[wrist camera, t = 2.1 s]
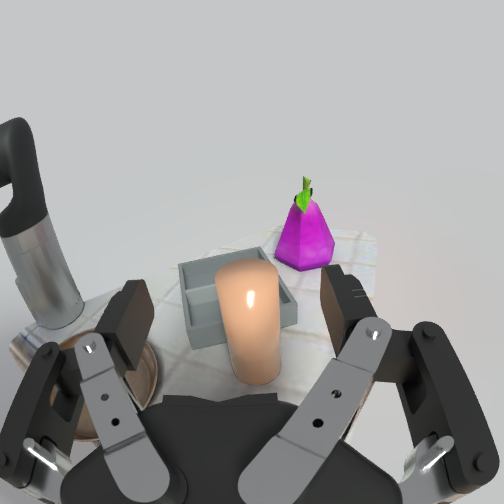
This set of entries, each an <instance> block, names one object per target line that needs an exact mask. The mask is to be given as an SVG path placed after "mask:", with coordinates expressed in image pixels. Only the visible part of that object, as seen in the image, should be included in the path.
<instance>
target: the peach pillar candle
mask: <svg viewBox="0 0 504 504" xmlns="http://www.w3.org/2000/svg"><path fill="white" fill-rule="evenodd" d="M215 283H216V289H217V294H218V299H219V304H220V309H221V314H222V319H223V324H224V329H225V333H226V338H227V343H228V347H229V352H230V357H231V361H232V366H233V370H234V373H235V375H236V377H237V378H238V379H239V380H240V381H242V382H244V383H246V384H249V385H263V384H266V383H269V382H271V381H272V380H274V379H275V378H276V377H277V376H278V374H279V373H280V370H281V335H280V306H279V281H278V270H277V268H276V267H275V266H274V265H273V264H272V263H270V262H268V261H266V260H262V259H256V258H245V259H239V260H235V261H232V262H230V263H227V264H226V265H224V266H222V267H221V268H220V269H219V270H218V271H217V273H216V275H215Z"/></svg>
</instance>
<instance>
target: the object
mask: <svg viewBox="0 0 504 504" xmlns="http://www.w3.org/2000/svg"><path fill="white" fill-rule="evenodd" d="M94 330H95V328H94V329H90V330H86V331H83V332H81V333H78V334H76V335H74V336H72V337H70V338H68V339H67V340H65V341H64V342H63V343H61V344H60V345H59V346H60V348H61V350H64V349H69V348H74V347H75V345H76V343H77V341H78V340H79V339H80V338H81V337H83V336H84V335H86V334H89V333H93V332H94ZM125 376H126V378H127V380H128V382H129V384H130V386H131V388H132V390H133V391H134V393H135V395H136V397H137V399H138V401H139V403H140V405H141V406H142V408H143V410H144V409H146V407H147V406H148V404H149V402H150V400H151V398H152V396H153V393H154V390H155V387H156V383H157V376H158V367H157V360H156V357H155V354H154V352H153V350H152V348H151V346H150V345H149V344H148V343H147V342H145V345H144V348H143V351H142V354H141V357H140V360H139V364H138V367H137V370H136V371H126V374H125ZM57 391H58V389H57V387H56V386H55V385H54V387H53V390H52V392H51V395H50V405H51V407H52V405H53V402H54V399H55V397H56V394H57ZM98 440H100V439H99V437H98V434H97V432H96V429H95V427H94V424H93V421H92V419H91V416H90V413H89V410H88V408H87V405H86V402H84V405H83V408H82V412H81V415H80V419H79V422H78V426H77V429H76V433H75V437H74V440H73V441H81V442H86V441H87V442H88V441H98Z"/></svg>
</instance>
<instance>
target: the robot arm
mask: <svg viewBox="0 0 504 504" xmlns="http://www.w3.org/2000/svg"><path fill="white" fill-rule="evenodd" d="M10 183H12V187H13V198H12V200H11V202H10V203H9V205H8V206H7V207H6V208H5V209H4V210H3V211H2V212H1V213H0V237H1V240H2V242H3V245H4V247H5V250H6V252H7V254H8V257H9V259H10V261H11V264H12V266H13V268H14V270H15V272H16V275H17V278H16V280H15V283H16V285H17V286H18V289H19V291H20V293H21V295H22V297H23V299H24V300H25V302H26V304H27V306H28V308H29V310H30V312H31V313H32V315H33V317H34V318H35V320H36V322H37V324H38V325H39V326H44V327H46V328H48V329H58V328H61V327H64V326H66V325H68V324H69V323H71V322H72V321H74V320H75V319H76V318H77V317H78V316H79V315H80V313H81V312H82V309H83V306H84V303H83V300H82V298H81V296H80V293H79V291H78V289H77V287H76V285H75V282H74V280H73V278H72V276H71V273H70V271H69V268H68V266H67V263H66V261H65V259H64V256H63V253H62V251H61V248H60V245H59V243H58V240H57V237H56V234H55V231H54V229H53V226H52V223H51V220H50V217H49V213H48V210H47V207H46V203H45V198H44V191H43V186H42V182H41V178H40V173H39V168H38V162H37V157H36V149H35V145H34V139H33V134H32V131H31V129H30V126H29V125H28V123H27V122H26V120H25V119H23V118H21V117H18V118H14V119H11V120H9V121H7V122H5V123H3V124H1V125H0V188H1V187H3V186H5V185H7V184H10ZM320 301H321V307H322V311H323V314H324V317H325V321H326V324H327V327H328V331H329V334H330V337H331V341H332V344H333V348H334V351H335V355H336V358H332V359H331V361H330V362H329V363H328V365H327V366H326V368H325V369H324V371H323V373H322V374H321V376H320V377H319V379H318V380H317V382H316V383H315V384H314V386H313V387H312V389H311V390H310V392H309V393H308V395H307V396H306V397H305V399H304V400H303V402H302V403H301V404H300V406H297V405H294V404H292V403H288V402H284V401H278V398H277V393H268V394H253V395H245V396H241V397H238V398H234V399H229V400H225V401H221V402H215V401H210V400H206V399H201V398H197V397H193V396H179V395H164V396H163V401H162V403H159V404H155V405H152V406H150V407H148V408H146V409H144V410H143V408H142V406H141V405H140V403H139V401H138V399H137V397H136V395H135V393H134V391H133V390H132V388H131V386H130V384H129V382H128V380H127V378H126V376H125V374H126V371H136V370H137V367H138V364H139V360H140V357H141V354H142V351H143V348H144V345H145V342H146V339H147V336H148V333H149V330H150V327H151V325H152V322H153V319H154V306H153V303H152V300H151V298H150V295H149V292H148V289H147V286H146V283H145V281H144V280H143V279H141V280H128V281H127V282H126V284H125V285H124V287H123V289H122V291H119V292H117V293H116V294H115V295H114V296H113V297H112V298H111V300H110V302H109V303H108V305H107V307H106V309H105V311H104V313H103V315H102V316H101V318H100V320H99V322H98V324H97V326H96V328H95V330H94V332H93V333H89V334H86V335H84V336H83V337H81V338H80V339H79V340H78V341H77V343H76V345H75V347H74V348H69V349H64V350H61V348H60V346H59V345H58V344H57V343H56V342H48V343H45V344H44V345H42V346H41V347H40V348H39V349H38V350H37V352H36V354H35V355H34V357H33V359H32V361H31V363H30V365H29V367H28V369H27V371H26V374H25V376H24V378H23V380H22V382H21V384H20V386H19V389H18V391H17V393H16V395H15V398H14V400H13V403H12V405H11V407H10V410H9V412H8V415H7V417H6V420H5V422H4V425H3V428H2V431H1V433H0V478H2V479H3V480H5V481H7V482H8V483H10V484H11V485H12V486H13V487H15V488H17V489H18V490H20V491H22V492H24V493H25V494H27V495H29V496H31V497H33V498H36V499H38V500H40V501H42V502H44V503H46V504H55V503H57V504H450V503H452V502H454V501H456V500H458V499H460V498H462V497H464V496H466V495H467V494H469V493H471V492H473V491H475V490H476V489H478V488H480V487H481V486H483V485H485V484H487V483H488V482H489V481H491V480H492V479H493V478H494V476H495V475H496V473H497V471H498V469H499V462H500V461H499V455H498V452H497V449H496V446H495V444H494V440H493V437H492V435H491V432H490V429H489V427H488V424H487V421H486V419H485V416H484V414H483V411H482V409H481V406H480V404H479V402H478V399H477V397H476V395H475V392H474V390H473V388H472V386H471V384H470V382H469V379H468V377H467V375H466V373H465V371H464V369H463V367H462V365H461V363H460V361H459V359H458V357H457V355H456V353H455V351H454V349H453V347H452V345H451V343H450V342H449V340H448V338H447V336H446V334H445V332H444V331H443V329H442V328H441V327H440V326H439V325H437V324H435V323H433V322H427V321H424V322H420V323H418V324H416V325H415V326H414V328H413V331H401V330H394V329H392V328H391V326H390V325H389V324H388V323H387V322H386V321H385V320H383V319H381V318H378V317H377V315H376V312H375V310H374V308H373V306H372V304H371V302H370V301H369V299H368V297H367V296H366V293H365V291H364V290H363V287H362V285H361V283H360V281H359V280H358V279H357V278H355V277H354V276H353V275H351V274H349V275H344V273H343V271H342V269H341V267H340V265H339V264H336V265H326V266H322V269H321V288H320ZM375 381H378V382H393V383H396V386H397V389H398V392H399V396H400V399H401V402H402V406H403V409H404V412H405V416H406V419H407V423H408V427H409V430H410V434H411V438H412V442H413V446H414V450H413V451H412V452H411V453H410V454H409V455H408V456H407V458H406V460H405V463H404V476H403V479H402V481H401V482H400V483H399V484H397V482H396V481H395V480H394V479H393V478H392V477H391V476H390V475H389V474H387V473H386V472H385V471H383V470H382V469H380V468H379V467H378V466H377V465H375V464H374V463H372V462H371V461H370V460H368V459H367V458H366V457H364V456H363V455H361V454H360V453H359V452H358V451H357V450H355V449H354V448H353V447H351V446H350V445H349V444H347V443H346V442H345V440H346V438H347V436H348V434H349V433H350V431H351V429H352V427H353V425H354V423H355V421H356V419H357V417H358V415H359V413H360V411H361V409H362V407H363V405H364V403H365V401H366V399H367V397H368V395H369V393H370V391H371V389H372V387H373V385H374V383H375ZM54 385H55V386H56V387H57V389H58V391H57V394H56V397H55V399H54V402H53V405H52V407H51V405H50V395H51V392H52V390H53V387H54ZM84 402H86V405H87V408H88V410H89V413H90V416H91V419H92V421H93V424H94V427H95V429H96V432H97V434H98V437H99V439H100V442H101V445H100V446H99V447H98V448H96V449H95V450H94V451H93V452H92V453H90V454H89V455H88V456H87V457H86V458H84V459H83V460H82V461H80V462H79V463H78V464H77V465H76V466H74V467H73V468H72V463H71V460H70V458H69V457H70V452H71V448H72V444H73V440H74V437H75V433H76V429H77V426H78V422H79V419H80V415H81V412H82V408H83V405H84Z"/></svg>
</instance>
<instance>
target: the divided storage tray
mask: <svg viewBox="0 0 504 504" xmlns="http://www.w3.org/2000/svg"><path fill="white" fill-rule="evenodd" d="M245 258H256V259H262V260H266V261H268V262H270V261H269V259H268V258H267V256H266V255H265V253H264V251H263V250H262V248H261V247H255V248H251V249H246V250H241V251H237V252H232V253H227V254H223V255H218V256H213V257H209V258H204V259H199V260H194V261H190V262H185V263H181V264H178V268H179V277H180V285H181V293H182V301H183V308H184V316H185V323H186V329H187V333H188V336H189V339H190V342H191V345H192V348H193V350H194V349H199V348H203V347H208V346H212V345H217V344H221V343H225V342H227V338H226V333H225V329H224V324H223V319H222V314H221V309H220V304H219V299H218V294H217V289H216V283H215V275H216V273H217V271H218V270H219V269H220V268H221V267H222V266H224V265H226V264H227V263H230V262H232V261H235V260H239V259H245ZM270 263H271V262H270ZM278 281H279V306H280V328H283V327H287V326H290V325H294V324H297V302H296V301H295V299H294V297H293V296H292V294H291V293H290V291H289V290H288V288H287V287H286V285H285V284H284V282H283V281H282V279H281V278H280V276H279V274H278Z"/></svg>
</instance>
